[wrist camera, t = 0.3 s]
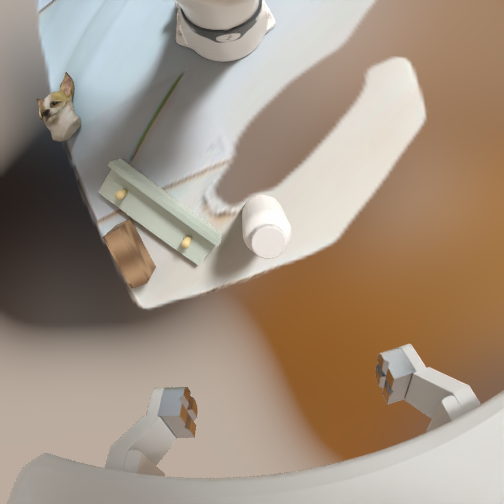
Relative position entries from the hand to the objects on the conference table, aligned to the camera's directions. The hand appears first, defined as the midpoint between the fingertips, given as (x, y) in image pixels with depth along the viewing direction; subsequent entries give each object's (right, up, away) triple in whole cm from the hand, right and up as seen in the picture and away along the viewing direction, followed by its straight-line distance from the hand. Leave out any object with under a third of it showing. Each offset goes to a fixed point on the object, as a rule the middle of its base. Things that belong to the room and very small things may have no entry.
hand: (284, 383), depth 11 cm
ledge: (-20, +14, +44) cm, 51 cm away
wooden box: (-26, +7, +47) cm, 55 cm away
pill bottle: (+1, +13, +46) cm, 48 cm away
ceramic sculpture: (-41, +35, +35) cm, 64 cm away
